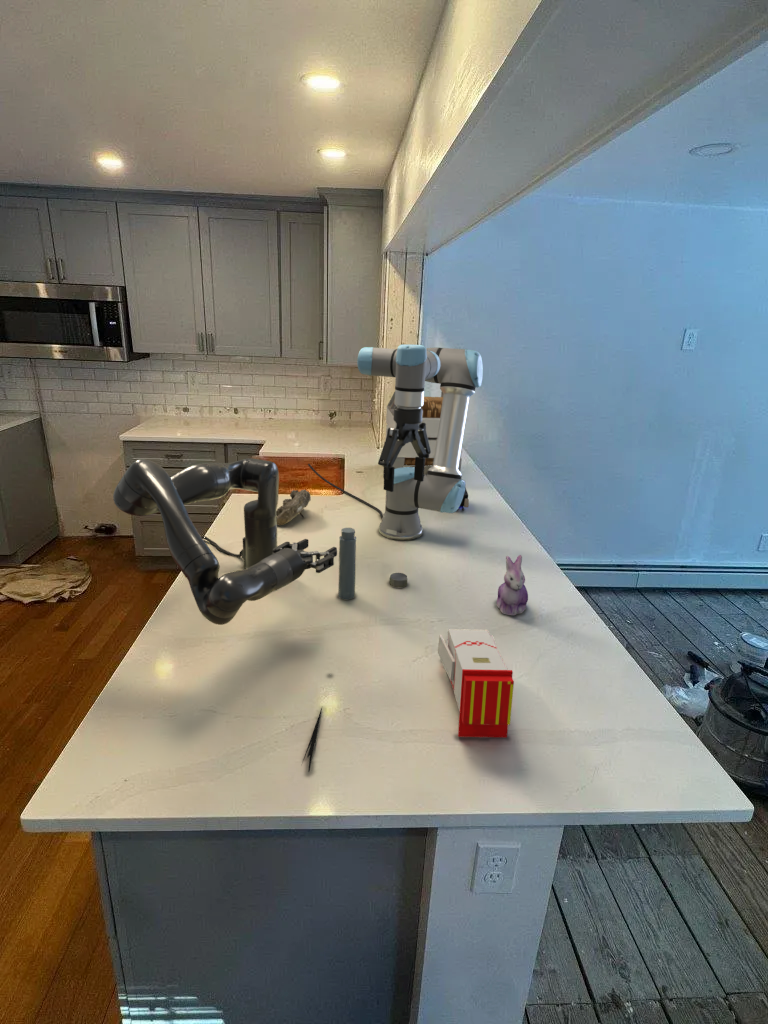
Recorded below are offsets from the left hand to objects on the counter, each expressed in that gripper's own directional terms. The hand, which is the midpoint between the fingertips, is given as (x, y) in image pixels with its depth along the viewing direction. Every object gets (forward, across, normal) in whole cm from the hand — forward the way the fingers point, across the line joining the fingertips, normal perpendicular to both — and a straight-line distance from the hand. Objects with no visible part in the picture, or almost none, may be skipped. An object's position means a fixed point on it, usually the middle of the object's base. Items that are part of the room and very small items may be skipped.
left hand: (321, 546), depth 139 cm
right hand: (+27, +8, +11) cm, 30 cm away
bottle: (+12, 0, -19) cm, 22 cm away
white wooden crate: (+135, -40, -19) cm, 142 cm away
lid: (+26, +8, -17) cm, 32 cm away
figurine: (+31, +40, -19) cm, 55 cm away
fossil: (+51, -50, -19) cm, 74 cm away
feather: (-32, +23, -19) cm, 44 cm away
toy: (-8, +44, -19) cm, 49 cm away
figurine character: (+100, -4, -19) cm, 102 cm away
